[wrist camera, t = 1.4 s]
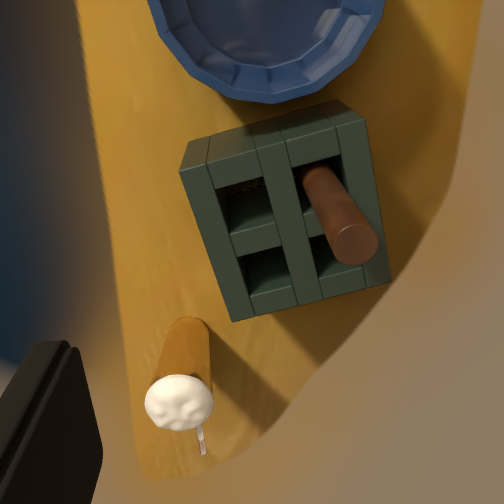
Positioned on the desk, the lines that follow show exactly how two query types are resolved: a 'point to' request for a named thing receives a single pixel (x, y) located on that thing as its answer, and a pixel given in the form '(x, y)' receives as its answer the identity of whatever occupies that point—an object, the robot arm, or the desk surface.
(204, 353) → the beer glass
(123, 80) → the desk surface
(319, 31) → the bowl
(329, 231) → the stick
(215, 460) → the desk surface
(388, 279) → the holder
